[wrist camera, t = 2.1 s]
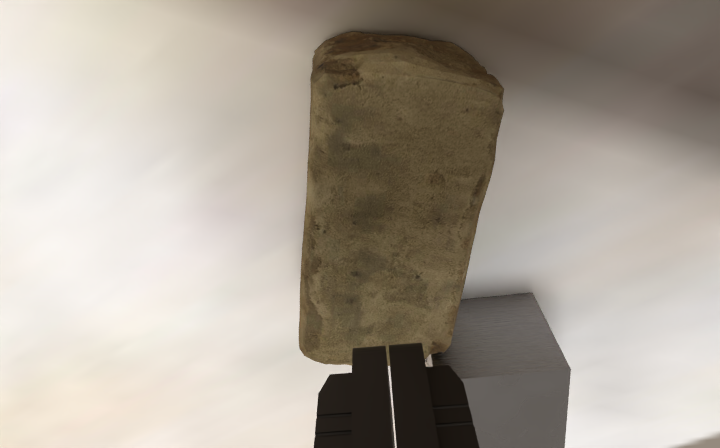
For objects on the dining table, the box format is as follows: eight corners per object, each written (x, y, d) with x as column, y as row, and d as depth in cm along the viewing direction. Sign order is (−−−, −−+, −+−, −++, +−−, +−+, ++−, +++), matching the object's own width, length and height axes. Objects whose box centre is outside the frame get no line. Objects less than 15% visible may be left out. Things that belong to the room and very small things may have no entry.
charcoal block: (531, 291, 24) (570, 369, 19) (529, 374, 26) (563, 460, 22) (418, 303, 24) (431, 381, 20) (425, 383, 26) (438, 470, 22)
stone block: (307, 295, 24) (294, 374, 20) (317, 22, 19) (302, 43, 14) (435, 304, 24) (453, 384, 20) (481, 35, 19) (519, 60, 14)
